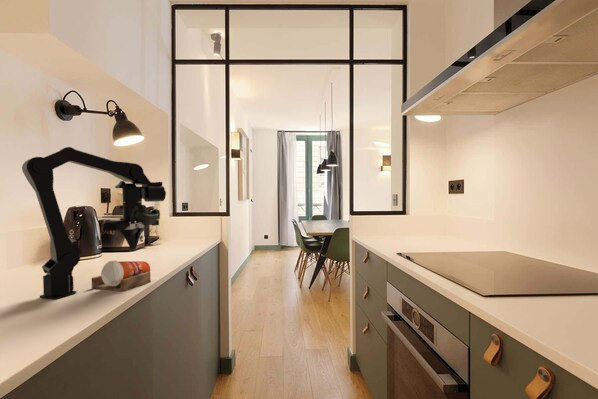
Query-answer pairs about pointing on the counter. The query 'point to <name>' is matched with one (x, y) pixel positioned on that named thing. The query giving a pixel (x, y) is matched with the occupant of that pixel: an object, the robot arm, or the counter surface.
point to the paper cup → (122, 271)
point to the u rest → (122, 282)
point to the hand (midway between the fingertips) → (133, 249)
